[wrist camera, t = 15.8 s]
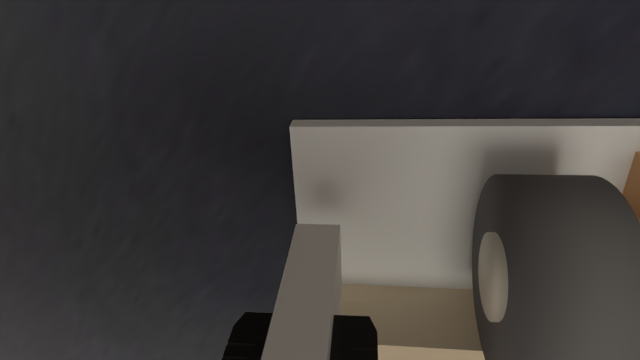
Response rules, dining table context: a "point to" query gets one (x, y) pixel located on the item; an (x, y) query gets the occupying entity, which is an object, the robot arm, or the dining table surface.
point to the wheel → (556, 269)
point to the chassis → (434, 209)
